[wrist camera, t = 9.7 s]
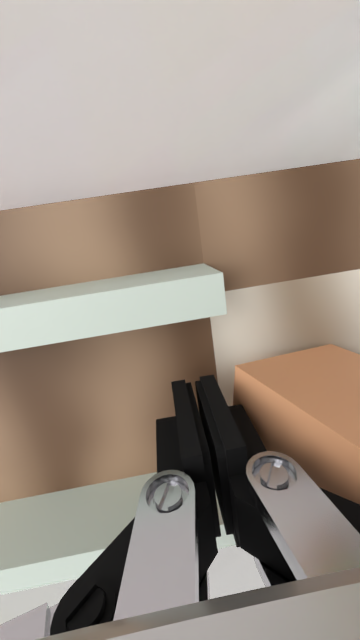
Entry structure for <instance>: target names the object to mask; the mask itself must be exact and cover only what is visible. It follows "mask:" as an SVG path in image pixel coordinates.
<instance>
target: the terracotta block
mask: <svg viewBox="0 0 360 640" xmlns="http://www.w3.org/2000/svg"><path fill="white" fill-rule="evenodd" d="M239 404H241V405H242V406H243V407H244V409H245V411H246V413H247V415H248V417H249V418H250V420H251V422H252V424H253V426H254V428H255V429H256V431H257V433H258V435H259V437H260V439H261V440H262V442H263V444H264V446H265V448H266V450H267V451H274V452H279V453H283V454H285V455H287V456H289V457H291V458H292V459H293V460H295V461H296V462H297V463H298V464H299V465H300V466H301V468H302V469H303V470H304V471H305V472H306V473H307V474H308V476H309V477H310V478H311V479H312V480H313V481H314V482H315V484H316V485H317V486H318V487H320V488H322V489H325V490H327V491H329V492H332V493H334V494H336V495H339V496H341V497H343V498H346V499H348V500H350V501H353V502H355V503H357V504H360V354H357V353H354V352H352V351H349V350H346V349H343V348H341V347H338V346H335V345H333V344H328V345H324V346H319V347H315V348H310V349H306V350H301V351H297V352H293V353H288V354H284V355H279V356H275V357H270V358H266V359H261V360H257V361H253V362H248V363H244V364H239V365H235V377H234V394H233V405H239Z"/></svg>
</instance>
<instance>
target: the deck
mask: <svg viewBox="0 0 360 640" xmlns="http://www.w3.org/2000/svg"><path fill="white" fill-rule="evenodd" d="M203 263H204V264H206V265H208V266H210V267H212V268H214V269H216V270H218V271H221V272H223V278H224V288H225V298H226V308H227V314H225V315H219V316H213V317H207V318H201V319H195V320H189V321H184V322H178V323H172V324H166V325H160V326H154V327H148V328H142V329H136V330H130V331H125V332H119V333H113V334H107V335H101V336H95V337H89V338H83V339H77V340H71V341H66V342H60V343H54V344H48V345H42V346H36V347H30V348H24V349H18V350H12V351H7V352H1V353H0V503H1V502H6V501H12V500H17V499H22V498H27V497H32V496H37V495H42V494H47V493H52V492H58V491H63V490H68V489H73V488H78V487H83V486H88V485H93V484H98V483H103V482H109V481H114V480H119V479H124V478H129V477H134V476H139V475H144V474H149V473H154V472H157V452H156V419H161V418H167V417H172V416H176V415H175V407H174V400H173V392H172V385H171V382H173V381H178V380H184V379H185V382H186V383H189V382H191V385H192V388H193V392H194V396H195V399H196V403H197V407H198V401H197V394H196V387H195V381H200V377H201V376H207V375H214V377H215V379H216V381H217V383H218V385H219V387H220V390H221V392H222V394H223V396H224V398H225V401H226V403H227V405H228V406H233V394H234V377H235V365H239V364H244V363H248V362H253V361H257V360H261V359H266V358H270V357H275V356H279V355H284V354H288V353H293V352H297V351H301V350H306V349H310V348H315V347H319V346H324V345H328V344H333V345H335V346H338V347H341V348H343V349H346V350H349V351H352V352H354V353H357V354H360V159H355V160H348V161H341V162H334V163H327V164H320V165H313V166H306V167H299V168H292V169H285V170H279V171H272V172H265V173H258V174H251V175H244V176H237V177H230V178H223V179H216V180H209V181H202V182H195V183H189V184H182V185H175V186H168V187H161V188H154V189H147V190H140V191H133V192H126V193H119V194H112V195H105V196H99V197H92V198H85V199H78V200H71V201H64V202H57V203H50V204H43V205H36V206H29V207H22V208H15V209H9V210H2V211H0V296H2V295H8V294H15V293H21V292H27V291H33V290H40V289H46V288H52V287H58V286H65V285H71V284H77V283H84V282H90V281H96V280H102V279H109V278H115V277H121V276H127V275H134V274H140V273H146V272H153V271H159V270H165V269H171V268H178V267H184V266H190V265H196V264H203ZM198 410H199V408H198Z"/></svg>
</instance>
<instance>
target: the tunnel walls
mask: <svg viewBox="0 0 360 640" xmlns="http://www.w3.org/2000/svg"><path fill="white" fill-rule="evenodd" d="M225 314H227V308H226V298H225V288H224V278H223V272H221V271H218V270H216V269H214V268H212V267H210V266H208V265H206V264H204V263H203V264H196V265H190V266H184V267H178V268H171V269H165V270H159V271H153V272H146V273H140V274H134V275H127V276H121V277H115V278H109V279H102V280H96V281H90V282H84V283H77V284H71V285H65V286H58V287H52V288H46V289H40V290H33V291H27V292H21V293H15V294H8V295H2V296H0V353H1V352H7V351H12V350H18V349H24V348H30V347H36V346H42V345H48V344H54V343H60V342H66V341H71V340H77V339H83V338H89V337H95V336H101V335H107V334H113V333H119V332H125V331H130V330H136V329H142V328H148V327H154V326H160V325H166V324H172V323H178V322H184V321H189V320H195V319H201V318H207V317H213V316H219V315H225ZM155 474H157V472H154V473H149V474H144V475H139V476H134V477H129V478H124V479H119V480H114V481H109V482H103V483H98V484H93V485H88V486H83V487H78V488H73V489H68V490H63V491H58V492H52V493H47V494H42V495H37V496H32V497H27V498H22V499H17V500H12V501H6V502H1V503H0V595H4V594H8V593H13V592H18V591H23V590H27V589H32V588H37V587H41V586H46V585H51V584H55V583H60V582H65V581H70V580H74V579H78V578H79V577H80V576H81V575H82V574H83V573H84V572H85V571H86V570H87V569H88V567H89V566H90V565H91V564H92V563H93V562H94V561H95V560H96V559H97V558H98V557H99V555H100V554H101V553H102V552H103V551H104V550H105V549H106V548H107V547H108V546H109V545H110V544H111V542H112V541H113V540H114V539H115V538H116V537H117V536H118V535H119V534H120V533H121V532H122V530H123V529H124V528H125V527H126V526H127V525H128V524H129V523H130V522H131V521H132V520H133V518H134V517H135V516H136V511H137V506H138V502H139V497H140V493H141V490H142V488H143V486H144V484H145V483H146V482H147V481H148V479H150V478H151V477H152V476H154V475H155ZM215 493H216V492H215ZM216 500H217V496H216ZM217 508H218V515H219V523H220V530H221V537H216V542H217V549H220V548H225V547H230V546H234V545H236V543H235V539H234V536H233V534H230V535H226V531H225V527H224V523H223V519H222V515H221V511H220V507H219V504H218V500H217Z"/></svg>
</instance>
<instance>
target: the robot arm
mask: <svg viewBox="0 0 360 640" xmlns="http://www.w3.org/2000/svg"><path fill="white" fill-rule="evenodd" d="M171 385H172V392H173V400H174V407H175V415H176V416H172V417H167V418H161V419H156V452H157V474H155V475H154V476H152V477H151V478H150V479H148V481H147V482H146V483H145V484H144V486H143V488H142V490H141V493H140V497H139V502H138V506H137V511H136V516H135V517H134V518H133V520H132V521H131V522H130V523H129V524H128V525H127V526H126V527H125V528H124V529H123V530H122V532H121V533H120V534H119V535H118V536H117V537H116V538H115V539H114V540H113V541H112V542H111V544H110V545H109V546H108V547H107V548H106V549H105V550H104V551H103V552H102V553H101V554H100V555H99V557H98V558H97V559H96V560H95V561H94V562H93V563H92V564H91V565H90V566H89V567H88V569H87V570H86V571H85V572H84V573H83V574H82V575H81V576H80V577H79V578H78V579H77V581H76V582H75V583H74V584H73V585H72V586H71V587H70V588H69V589H68V591H67V592H66V593H65V595H64V596H63V597H62V599H61V600H60V602H59V603H58V604H56V605H54V606H52V607H50V608H49V606H48V604H47V603H45V604H43V605H41V606H39V607H37V608H35V609H33V610H31V611H29V612H26V613H24V614H22V615H20V616H18V617H16V618H14V619H12V620H10V621H8V622H5V623H3V624H1V625H0V640H360V504H357V503H355V502H353V501H350V500H348V499H346V498H343V497H341V496H339V495H336V494H334V493H332V492H329V491H327V490H325V489H322V488H320V487H318V486H317V485H316V484H315V482H314V481H313V480H312V479H311V478H310V477H309V476H308V474H307V473H306V472H305V471H304V470H303V469H302V468H301V466H300V465H299V464H298V463H297V462H296V461H295V460H293V459H292V458H291V457H289V456H287V455H285V454H283V453H279V452H274V451H267V450H266V448H265V446H264V444H263V442H262V440H261V439H260V437H259V435H258V433H257V431H256V429H255V428H254V426H253V424H252V422H251V420H250V418H249V417H248V415H247V413H246V411H245V409H244V407H243V406H242V405H241V404H239V405H233V406H228V405H227V403H226V401H225V398H224V396H223V394H222V392H221V390H220V387H219V385H218V383H217V381H216V379H215V377H214V375H207V376H201V377H200V381H195V387H196V394H197V401H198V407H197V403H196V399H195V396H194V392H193V388H192V385H191V382H189V383H186V382H185V379H184V380H178V381H173V382H171ZM198 408H199V410H198ZM215 492H216V493H215ZM216 496H217V500H218V504H219V507H220V511H221V515H222V519H223V523H224V527H225V531H226V535H230V534H233V536H234V539H235V543H236V546H237V547H241V548H242V549H244V550H245V551H247V552H248V553H250V554H251V555H253V556H254V561H255V564H256V567H257V569H258V572H259V574H260V576H261V578H262V580H263V582H264V585H265V588H260V589H255V590H251V591H246V592H242V593H237V594H232V595H228V596H223V597H219V598H214V599H210V589H209V574H208V568H209V566H210V565H211V563H212V561H213V560H214V558H215V556H216V555H217V553H218V550H217V542H216V537H221V530H220V523H219V515H218V508H217V500H216Z"/></svg>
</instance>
